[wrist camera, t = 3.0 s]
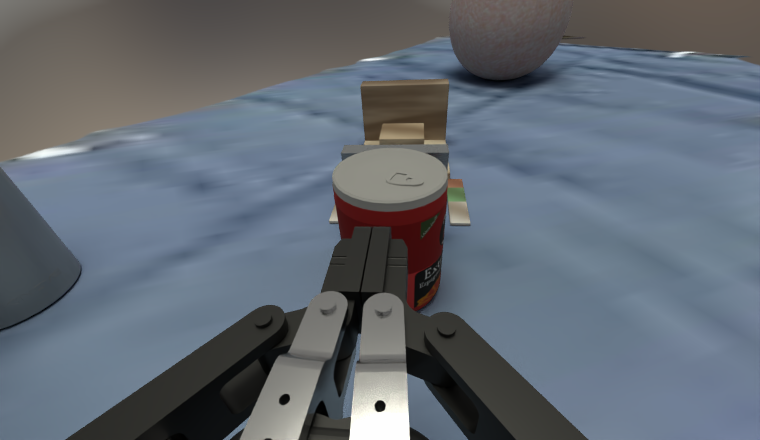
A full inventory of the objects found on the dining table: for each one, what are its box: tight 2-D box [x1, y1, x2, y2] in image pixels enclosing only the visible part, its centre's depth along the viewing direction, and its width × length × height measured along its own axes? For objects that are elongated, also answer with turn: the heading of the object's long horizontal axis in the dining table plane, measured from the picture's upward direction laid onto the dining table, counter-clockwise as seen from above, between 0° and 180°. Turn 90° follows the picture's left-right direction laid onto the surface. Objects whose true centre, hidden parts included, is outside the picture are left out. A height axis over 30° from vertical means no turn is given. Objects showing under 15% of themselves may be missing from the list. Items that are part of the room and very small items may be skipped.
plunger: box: [341, 144, 449, 171], centre depth 35 cm, size 12×9×8 cm
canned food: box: [332, 148, 448, 311], centre depth 26 cm, size 8×8×11 cm
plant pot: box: [449, 0, 573, 80], centre depth 69 cm, size 24×24×30 cm
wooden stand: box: [329, 79, 470, 226], centre depth 42 cm, size 22×15×9 cm
